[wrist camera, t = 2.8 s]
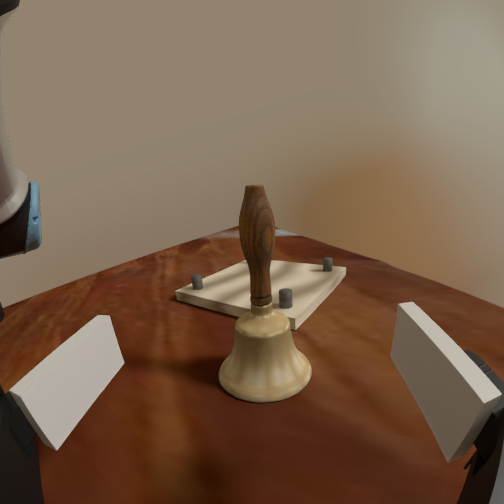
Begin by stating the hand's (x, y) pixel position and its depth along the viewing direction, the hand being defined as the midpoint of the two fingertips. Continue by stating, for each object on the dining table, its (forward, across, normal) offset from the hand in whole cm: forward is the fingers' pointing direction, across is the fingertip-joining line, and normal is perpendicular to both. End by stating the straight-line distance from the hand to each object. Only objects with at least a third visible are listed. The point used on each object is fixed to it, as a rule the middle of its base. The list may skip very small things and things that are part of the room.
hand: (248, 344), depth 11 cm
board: (+31, -1, -9) cm, 32 cm away
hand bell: (+10, 0, -10) cm, 14 cm away
